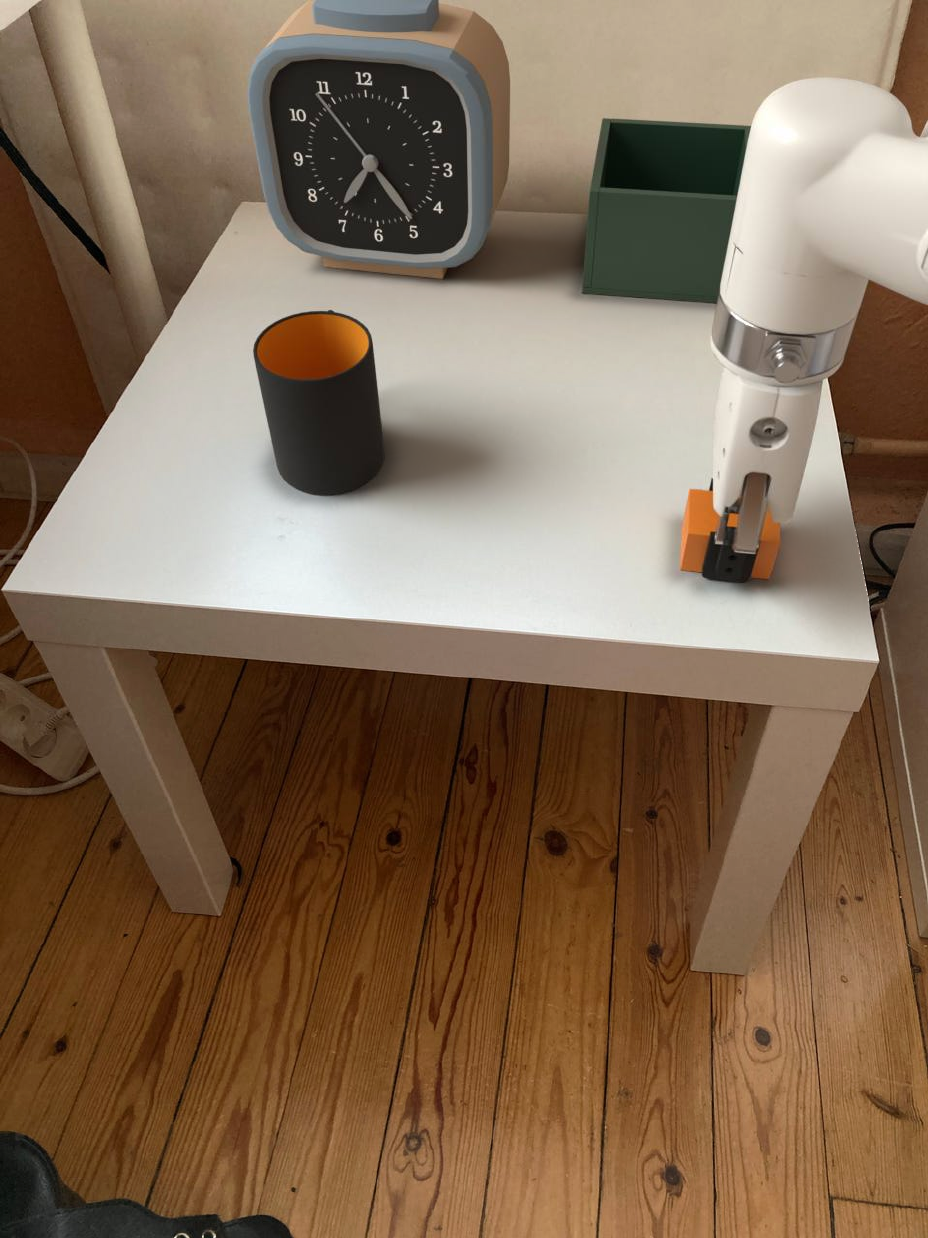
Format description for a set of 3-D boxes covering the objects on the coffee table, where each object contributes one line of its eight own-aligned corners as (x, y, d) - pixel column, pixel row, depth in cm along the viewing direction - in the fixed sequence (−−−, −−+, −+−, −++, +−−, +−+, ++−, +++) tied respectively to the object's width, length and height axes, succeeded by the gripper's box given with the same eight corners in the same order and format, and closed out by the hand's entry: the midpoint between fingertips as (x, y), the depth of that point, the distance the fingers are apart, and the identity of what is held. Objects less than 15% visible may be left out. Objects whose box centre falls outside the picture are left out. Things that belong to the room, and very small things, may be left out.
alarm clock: (274, 267, 96) (229, 16, 80) (305, 216, 102) (269, -28, 86) (488, 289, 93) (488, 33, 77) (508, 235, 99) (511, -14, 82)
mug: (395, 395, 83) (385, 282, 76) (377, 497, 76) (364, 382, 68) (295, 393, 84) (274, 280, 76) (267, 493, 76) (241, 379, 68)
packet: (682, 525, 73) (689, 488, 71) (767, 534, 73) (778, 496, 70) (680, 570, 70) (687, 533, 68) (769, 579, 70) (780, 542, 67)
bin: (734, 225, 99) (754, 125, 92) (735, 304, 91) (756, 201, 83) (594, 216, 101) (602, 117, 94) (581, 293, 92) (589, 190, 85)
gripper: (863, 426, 52) (783, 650, 66) (840, 249, 62) (776, 474, 76) (712, 413, 53) (665, 637, 67) (715, 241, 63) (674, 465, 77)
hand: (725, 548), depth 71 cm, fingers closed on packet, 4 cm apart
